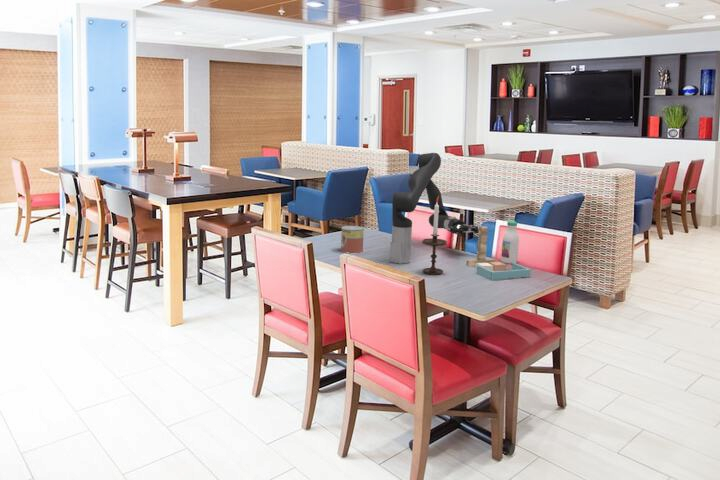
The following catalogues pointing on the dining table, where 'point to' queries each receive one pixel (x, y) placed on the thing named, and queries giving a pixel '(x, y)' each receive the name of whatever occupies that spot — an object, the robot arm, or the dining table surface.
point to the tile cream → (485, 266)
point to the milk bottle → (510, 244)
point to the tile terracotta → (498, 265)
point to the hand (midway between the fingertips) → (470, 232)
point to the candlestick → (434, 244)
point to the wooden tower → (481, 248)
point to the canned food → (352, 239)
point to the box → (505, 272)
